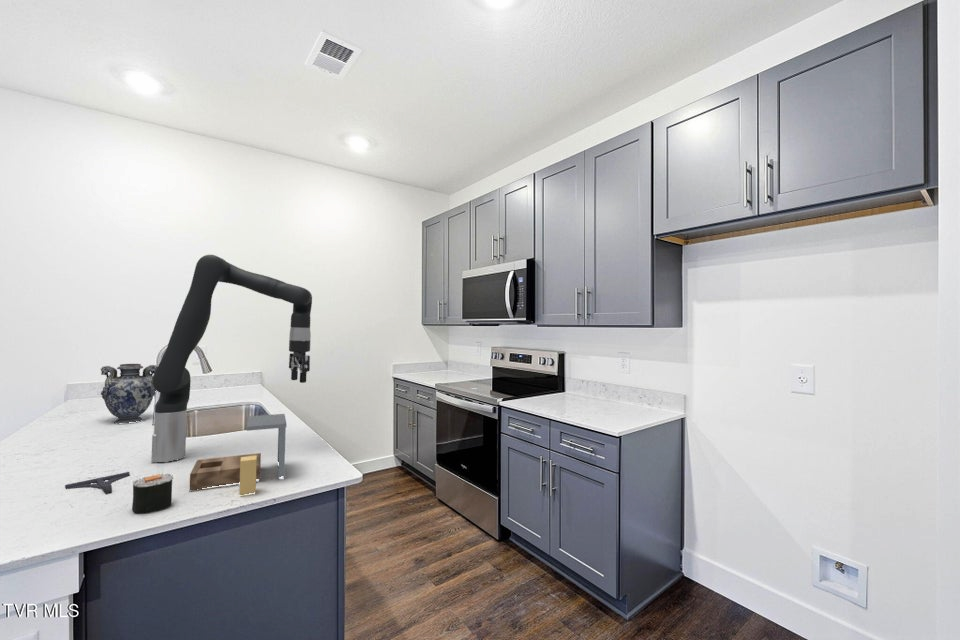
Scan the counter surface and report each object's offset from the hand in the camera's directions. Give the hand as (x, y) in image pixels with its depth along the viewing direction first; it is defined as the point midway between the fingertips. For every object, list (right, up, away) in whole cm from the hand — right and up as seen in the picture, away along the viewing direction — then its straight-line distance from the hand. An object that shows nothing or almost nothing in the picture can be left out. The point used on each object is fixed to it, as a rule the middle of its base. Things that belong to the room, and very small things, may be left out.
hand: (298, 381), depth 159 cm
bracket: (-41, -26, -38) cm, 62 cm away
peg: (+3, -26, -40) cm, 48 cm away
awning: (0, -27, -25) cm, 36 cm away
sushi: (-17, -26, -50) cm, 59 cm away
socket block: (-9, -26, -29) cm, 41 cm away
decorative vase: (-101, -26, +41) cm, 112 cm away
